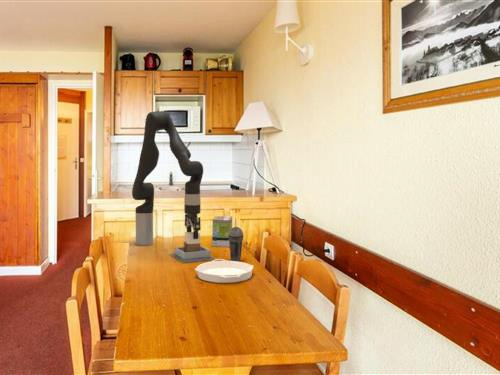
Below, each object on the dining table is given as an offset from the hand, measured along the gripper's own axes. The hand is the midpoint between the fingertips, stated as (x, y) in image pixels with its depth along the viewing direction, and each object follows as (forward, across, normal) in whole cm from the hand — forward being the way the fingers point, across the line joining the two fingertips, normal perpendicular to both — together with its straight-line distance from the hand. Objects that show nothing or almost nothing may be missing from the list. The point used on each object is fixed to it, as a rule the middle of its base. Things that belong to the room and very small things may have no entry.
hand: (192, 237), depth 210 cm
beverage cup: (+10, +14, +16) cm, 23 cm away
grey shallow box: (+10, 0, 0) cm, 10 cm away
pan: (+10, +34, 0) cm, 36 cm away
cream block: (+2, 0, 0) cm, 2 cm away
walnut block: (+8, 0, 0) cm, 8 cm away
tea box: (+10, -22, +26) cm, 35 cm away
